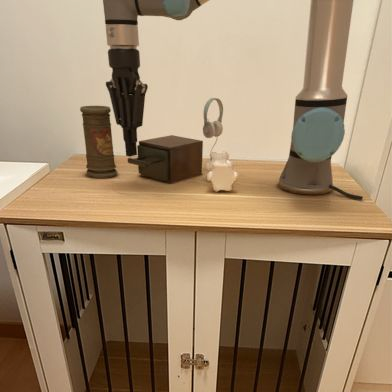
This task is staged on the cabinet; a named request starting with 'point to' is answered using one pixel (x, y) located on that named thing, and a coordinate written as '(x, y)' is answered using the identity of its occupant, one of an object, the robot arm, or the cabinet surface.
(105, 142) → the container
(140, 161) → the drawer
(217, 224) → the cabinet surface
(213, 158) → the white rounded figure
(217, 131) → the headphones
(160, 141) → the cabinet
